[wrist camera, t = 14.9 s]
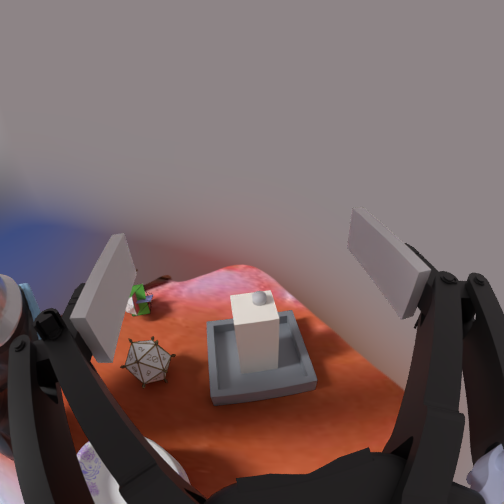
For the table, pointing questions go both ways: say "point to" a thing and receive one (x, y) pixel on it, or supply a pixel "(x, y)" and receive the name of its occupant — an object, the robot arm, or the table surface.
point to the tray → (263, 382)
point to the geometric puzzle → (138, 301)
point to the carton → (256, 331)
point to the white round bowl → (103, 482)
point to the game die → (147, 361)
